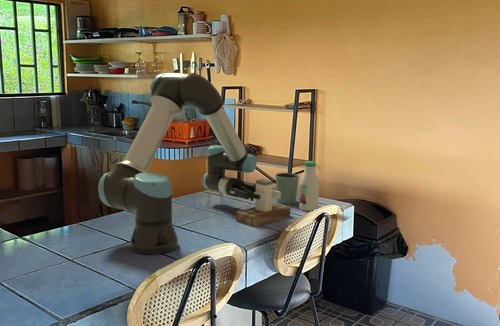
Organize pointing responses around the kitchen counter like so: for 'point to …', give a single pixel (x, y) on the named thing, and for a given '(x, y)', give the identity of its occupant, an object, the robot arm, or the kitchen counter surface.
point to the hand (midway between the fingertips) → (273, 197)
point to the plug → (264, 188)
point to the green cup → (287, 187)
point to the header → (262, 215)
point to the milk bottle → (309, 188)
